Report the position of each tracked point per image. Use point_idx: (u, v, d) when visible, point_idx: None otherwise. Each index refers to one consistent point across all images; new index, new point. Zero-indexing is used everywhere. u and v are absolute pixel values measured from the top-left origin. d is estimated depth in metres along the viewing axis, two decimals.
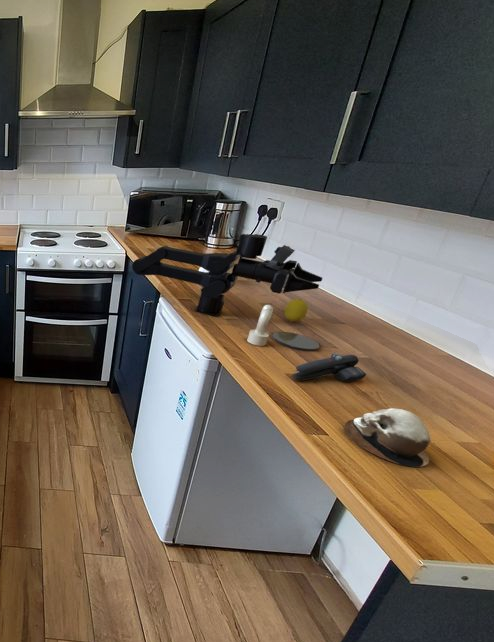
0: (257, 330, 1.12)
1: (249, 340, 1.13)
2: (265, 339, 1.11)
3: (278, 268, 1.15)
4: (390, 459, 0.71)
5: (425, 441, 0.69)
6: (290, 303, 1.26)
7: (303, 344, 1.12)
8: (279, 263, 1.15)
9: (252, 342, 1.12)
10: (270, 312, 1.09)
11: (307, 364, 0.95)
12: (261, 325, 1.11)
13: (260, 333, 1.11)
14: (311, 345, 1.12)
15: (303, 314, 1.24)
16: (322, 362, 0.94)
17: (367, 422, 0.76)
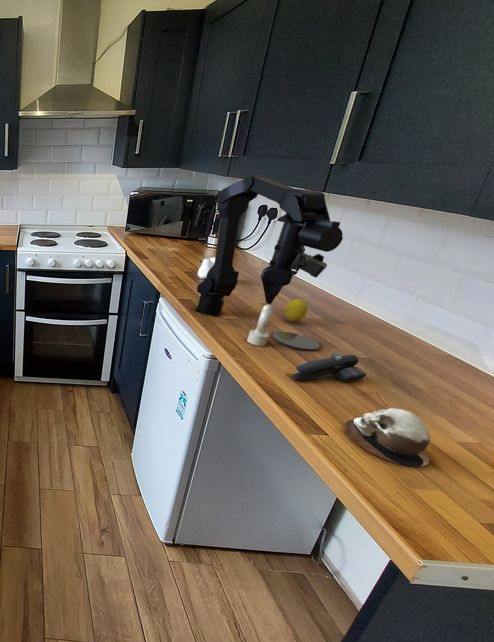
0: (257, 330, 1.12)
1: (249, 340, 1.13)
2: (265, 339, 1.11)
3: (294, 266, 1.01)
4: (390, 459, 0.71)
5: (425, 441, 0.69)
6: (290, 303, 1.26)
7: (303, 344, 1.12)
8: (301, 266, 1.00)
9: (252, 342, 1.12)
10: (270, 312, 1.09)
11: (307, 364, 0.95)
12: (261, 325, 1.11)
13: (260, 333, 1.11)
14: (311, 345, 1.12)
15: (303, 314, 1.24)
16: (322, 362, 0.94)
17: (367, 422, 0.76)
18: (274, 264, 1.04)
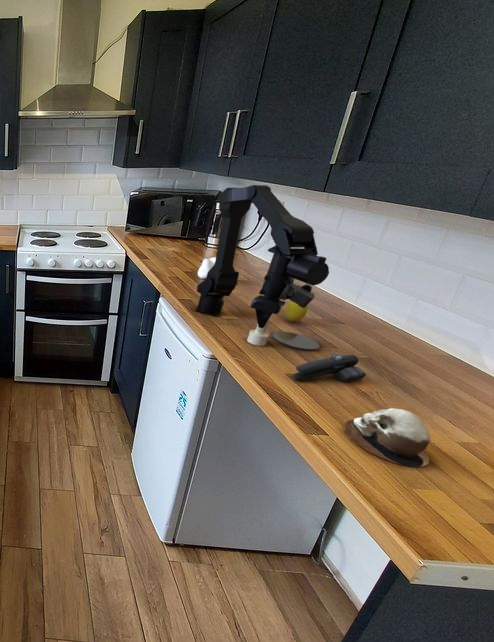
0: (257, 330, 1.12)
1: (249, 340, 1.13)
2: (265, 339, 1.11)
3: (282, 297, 1.04)
4: (390, 459, 0.71)
5: (425, 441, 0.69)
6: (290, 303, 1.26)
7: (303, 344, 1.12)
8: (289, 297, 1.03)
9: (252, 342, 1.12)
10: None
11: (306, 364, 0.95)
12: None
13: (260, 333, 1.11)
14: (311, 345, 1.12)
15: (303, 314, 1.24)
16: (322, 362, 0.94)
17: (367, 422, 0.76)
18: (264, 293, 1.07)
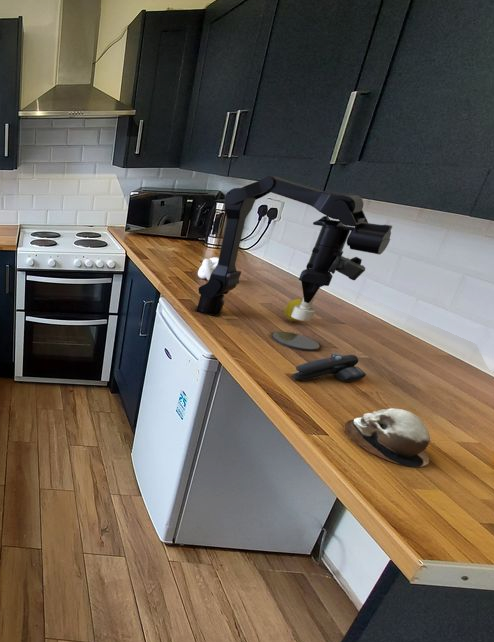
0: (302, 305, 1.10)
1: (294, 316, 1.11)
2: (311, 314, 1.09)
3: (332, 269, 1.02)
4: (390, 459, 0.71)
5: (425, 441, 0.69)
6: (290, 303, 1.26)
7: (303, 344, 1.12)
8: (339, 269, 1.02)
9: (297, 317, 1.10)
10: None
11: (306, 364, 0.95)
12: None
13: (306, 308, 1.09)
14: (311, 345, 1.12)
15: None
16: (322, 362, 0.94)
17: (367, 422, 0.76)
18: (311, 267, 1.05)
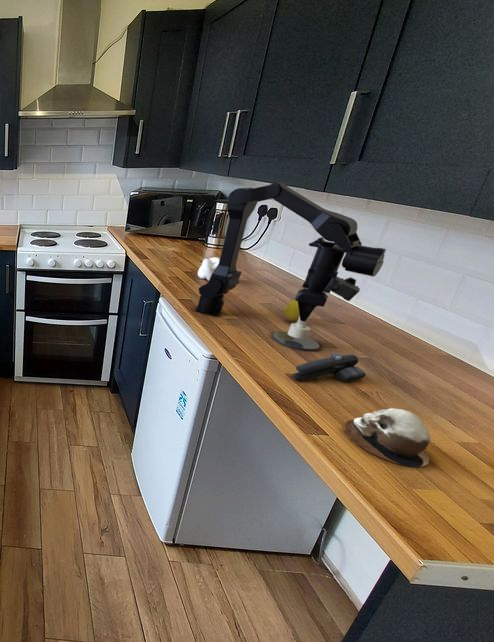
0: (299, 323, 1.12)
1: (290, 333, 1.14)
2: (307, 332, 1.11)
3: (327, 290, 1.04)
4: (390, 459, 0.71)
5: (425, 441, 0.69)
6: (290, 303, 1.26)
7: (303, 344, 1.12)
8: (334, 290, 1.04)
9: (293, 335, 1.13)
10: None
11: (306, 363, 0.95)
12: None
13: (302, 326, 1.12)
14: (311, 345, 1.12)
15: None
16: (322, 362, 0.94)
17: (367, 422, 0.76)
18: (307, 287, 1.08)
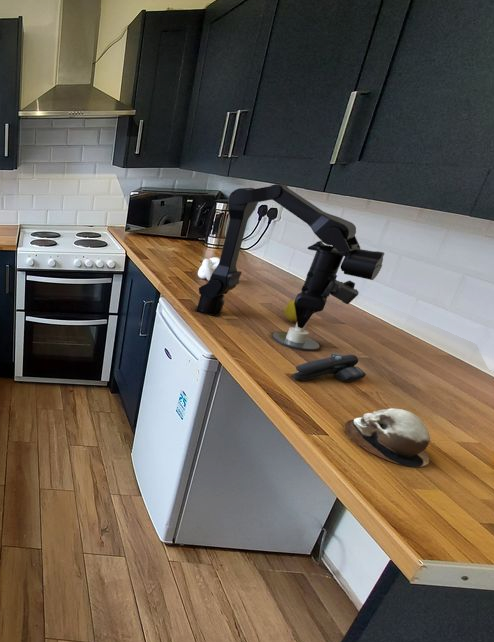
0: (297, 328, 1.13)
1: (288, 337, 1.14)
2: (305, 336, 1.12)
3: (326, 293, 1.05)
4: (390, 459, 0.71)
5: (425, 441, 0.69)
6: (290, 303, 1.26)
7: (303, 344, 1.12)
8: (333, 293, 1.04)
9: (292, 339, 1.13)
10: None
11: (306, 363, 0.95)
12: None
13: (300, 331, 1.12)
14: (311, 345, 1.12)
15: None
16: (322, 362, 0.94)
17: (367, 422, 0.76)
18: (306, 290, 1.08)
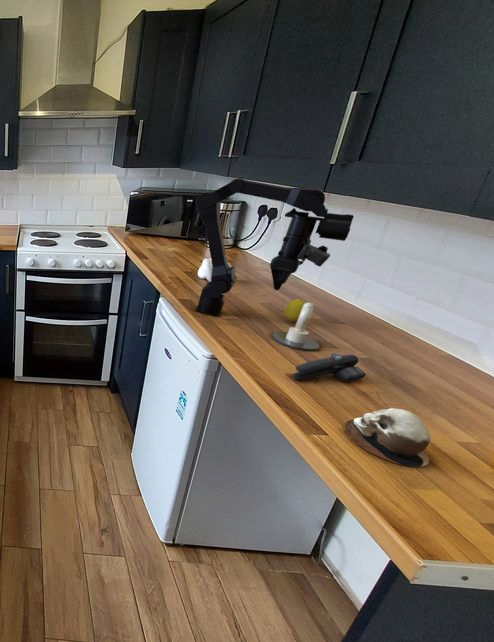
0: (297, 328, 1.13)
1: (288, 337, 1.14)
2: (305, 336, 1.12)
3: (300, 256, 1.12)
4: (390, 459, 0.71)
5: (425, 441, 0.69)
6: (290, 303, 1.26)
7: (303, 344, 1.12)
8: (306, 256, 1.12)
9: (292, 339, 1.13)
10: (311, 310, 1.10)
11: (306, 363, 0.95)
12: (301, 323, 1.12)
13: (300, 331, 1.12)
14: (311, 345, 1.12)
15: None
16: (322, 362, 0.94)
17: (367, 422, 0.76)
18: (282, 254, 1.15)
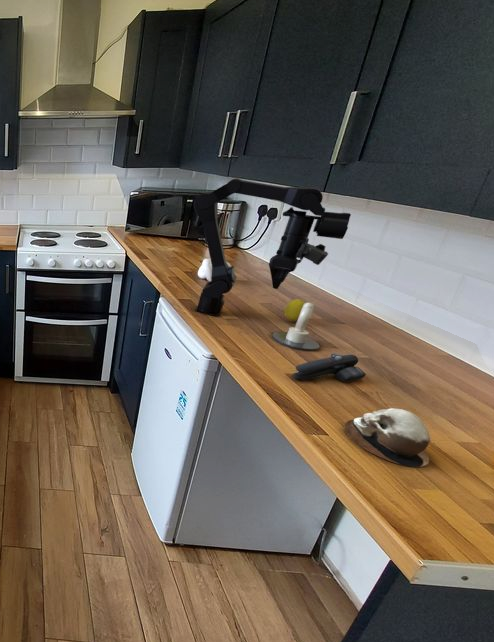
0: (297, 328, 1.13)
1: (288, 337, 1.14)
2: (305, 336, 1.12)
3: (298, 255, 1.13)
4: (390, 459, 0.71)
5: (425, 441, 0.69)
6: (290, 303, 1.26)
7: (303, 344, 1.12)
8: (304, 255, 1.12)
9: (292, 339, 1.13)
10: (311, 310, 1.10)
11: (306, 363, 0.95)
12: (301, 323, 1.12)
13: (300, 331, 1.12)
14: (311, 345, 1.12)
15: None
16: (322, 362, 0.94)
17: (367, 422, 0.76)
18: (281, 253, 1.16)
